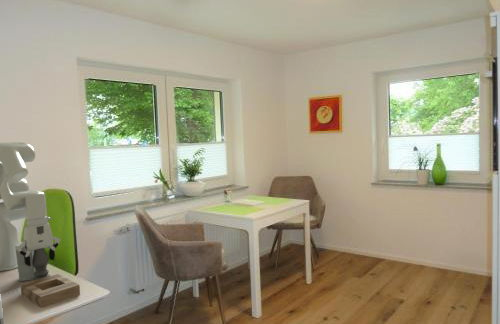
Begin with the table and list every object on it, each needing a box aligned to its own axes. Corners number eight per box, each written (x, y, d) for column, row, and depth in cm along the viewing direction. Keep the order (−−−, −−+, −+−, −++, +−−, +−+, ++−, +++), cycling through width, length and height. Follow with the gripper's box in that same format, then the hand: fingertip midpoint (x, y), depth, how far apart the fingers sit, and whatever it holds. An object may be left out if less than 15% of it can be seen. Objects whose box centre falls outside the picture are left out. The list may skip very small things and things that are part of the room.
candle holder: (43, 287, 158) (38, 227, 156) (30, 286, 159) (25, 227, 158) (53, 281, 164) (49, 223, 162) (40, 280, 165) (36, 223, 164)
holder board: (21, 294, 151) (20, 284, 151) (58, 283, 162) (57, 273, 161) (41, 307, 138) (40, 296, 138) (80, 294, 149) (79, 284, 148)
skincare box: (35, 280, 167) (32, 244, 165) (17, 282, 165) (14, 245, 164) (41, 273, 175) (38, 239, 174) (23, 275, 173) (21, 240, 172)
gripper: (55, 216, 169) (57, 255, 170) (10, 224, 156) (14, 266, 157) (62, 218, 164) (65, 258, 165) (17, 227, 151) (20, 270, 152)
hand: (40, 262), depth 161 cm, fingers open, 8 cm apart
